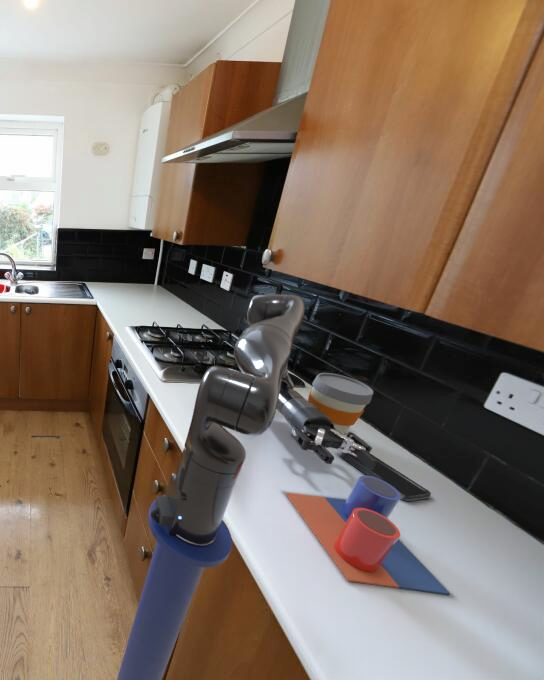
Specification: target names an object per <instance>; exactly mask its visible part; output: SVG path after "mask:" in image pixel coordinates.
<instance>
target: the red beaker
mask: <svg viewBox="0 0 544 680" xmlns="http://www.w3.org/2000/svg"><path fill="white" fill-rule="evenodd" d="M400 537H401V531H400V530H399V528H398V527H397V525H396V524H395V523H394V522H393V521H392V520H390V519H389V518H388V519H387V518H386V517H384V516H383V515H381V514H379V513H377V512H375V511H372V510H369V509H366V508H355V509H354V510H353V511H352V513H351V515H350V517H349V518H348V520H347V522H346V524H345V525H344V527H343V529H342V531H341V532H340V534H339V536H338V537H337V539H336V541H335V543H334V548H335V550H336V552H337V553H338V554H339V556H340V557H341V558H342V559H343V560H345V561H346V562H347V563H348V564H350V565H351V566H353V567H355V568H357V569H359V570H362V571H365V572H376V571H377V570H378V568H379V567H380V565H381V564H382V562H383V561H384V560H385V558H386V557H387V555H388V554H389V552H390V551H391V549H392V548H393V546H394V545H395V543H396V542H397V540H398V539H399V540H400Z"/></svg>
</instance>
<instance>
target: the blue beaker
mask: <svg viewBox="0 0 544 680" xmlns="http://www.w3.org/2000/svg"><path fill="white" fill-rule="evenodd" d="M345 500H346V502H345V504H344V505H343V507H342V513H343V515H344V516H345V517H346V518H347V519H348V518H349V517H350V515H351V513H352V511H353V510H354V509H355V508H366V509H369V510H372V511H375V512H377V513H379V514H381V515H383V516H384V517H386V518H387V519H389V517H391V514H392V513H393V511H394V510H395V508H396V507H397V505H398V503H399V502H400V500H402V499H401V495H400V493H399V492H398V491H397V490H396V489H395V488H394V487H393V486H391V485H390V484H388V483H386V482H385V481H383V480H380V479H378V478H375V477H372V476H367V475H366V474H364V475H360V476H358V479H357V480H356V482H355V484H354V486H353V487H352V489H351V491H350V493H349V494H348V496H347V498H346V499H345Z"/></svg>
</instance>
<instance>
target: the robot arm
mask: <svg viewBox="0 0 544 680" xmlns="http://www.w3.org/2000/svg"><path fill="white" fill-rule="evenodd" d="M246 315H247V318H246V320H247V325H248V326H247V327H246V328H245V329H244V330H243V332H242V333H241V334H240V336H239V337H238V339H237V341H236V343H235V345H234V347H233V359H234V361H235V364H236V365H237V367H238V369H239V370H236V369H232V368H229V367H226V366H222V365H219V364H218V365H217V364H216V365H215V364H214V365H211V366H210V367H209V368H208V369H207V370H206V371H205V372H204V374H203V375H202V377H201V381H200V383H199V385H198V389H197V393H196V396H195V403H194V406H193V410H192V411H193V412H192V416H191V421H190V425H189V428H188V432H187V434H186V438H185V442H184V446H183V450H182V453H181V456H180V460H179V463H178V466H177V470H176V473H171V475H170V477H169V481H168V485H167V489H166V492H165V494H164V495H165V496H163V495H156V498H155V500H156V501H155V500H154V501H155V507H156V508H155V509H153V510H152V511H151V517H152V519H153V520H154V521H155V522H156V523H160V525H164V526H167V530H168V533H169V535H170V536H175V537H177V538H178V539H179V540H181V541H183V542H185V543H187V544H189V545H192V546H196V547H206V546H209V545H211V544H212V543H213V542H214V541H215V539H216V536H217V532H218V529H219V526H220V524H221V521H222V520H223V518H224V515H225V513H226V511H227V508H228V505H229V503H230V500H231V497H232V495H233V492H234V490H235V487H236V484H237V481H238V479H239V476H240V474H241V471H242V469H243V466H244V464H245V461H246V456H247V455H246V448H245V447H244V445H243V444H242V442H241V441H240V440H239V439H238V438H237V437H236V436H235V435H233V434H232V433H231V432H230V431H229V430H232V431H234V432H237V433H239V434H243V435H246V436H250V437H257V436H260V435H263V434H264V433H265V432H266V431H267V430H268V429H269V428H270V426H271V424H272V423H273V420H274V418H275V415H276V412H277V411H278V412H279V413H280V414H281V416H283V417H284V420H285V421H286V422H287V423H288V425H289V426H290V427H292V429H291V431H290V435H289V436H290V437H291V438H292V439H293V440H294V441H295V443H296V444H297V445H298V446H299V448H300V449H301V450H303V451H308V450H310V452H311V453H314V454H316V455H317V456H318V458H319V459H320V460H322V461H323V462H324V463H325V464H326V465H332V464H333V462H334V460H335V457H334V454H332V453H331V452H330V451H329V449H330V448H331V449H334V450H337V451H339V452H341V453H342V452H343V453H350V454H352V455H354V456H356V457H357V459H358V460H359V461H361V462H362V463H363V464H364V465H365V466H366V467H367V468H368V469H374V467H375V465H376V463H377V461H376V460H375V459H374V458H373V457H372V456H370V455H369V453H370V454H371V451H372V450H373V447H372V446H371V445H370V444H369V443H367V442H366V441H364V440H363V439H362V438H361V437H359V436H358V435H357V434H356V433H354V432H352V431H348V432H347V434H346V433H345V434H342V433H340V432H339V431H337V430H335V428H334V425H333V422H332V421H331V420H330V419H329V418H328V417H327V416H326V415H325V414H324V413H322V412H321V411H320V410H319V409H318V408H317V407H316V406H314V405H313V404H312V403H310V402H309V401H308V399H306V398H305V397H304V396H303V395H301V393H299V392H298V391H296V390H295V384H294V381H293V380H292V378H291V376H290V373H289V371H288V367H289V366H288V365H289V360H290V358H291V354H292V351H293V346H294V341H295V337H296V336H297V334H298V332H299V330H300V328H301V326H302V324H303V321H304V317H305V303H304V300H303V299H302V298H301V297H300V296H298V295H293V294H277V293H259V294H254V295H253V296H252V297H251V299H250V301H249V303H248V307H247V314H246ZM227 429H229V430H227ZM344 442H345V446H344V447H343V443H344ZM328 448H329V449H328ZM353 450H356V452H355V451H353ZM156 515H158V516H156Z"/></svg>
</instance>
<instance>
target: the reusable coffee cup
mask: <svg viewBox="0 0 544 680" xmlns="http://www.w3.org/2000/svg"><path fill="white" fill-rule="evenodd" d="M311 385H312V389H311V391H309V392H308V393H309V394H308V399H307V401H309V402H310V403H312V404H313V405H314V406H316V407H317V408H318V409H319V410H320V411H321V412H322V413H324V414H325V415H326V416H327V417H328V418H329V419H330V420H331V421H332V422H333V425H334V428H335V430H337V431H339V432H340V433H342V434H346V432H347V431H348V430H349V428H351V426H353V425H355V424H356V423H357V421H358V420H359V419H360V417H361V416H362V415H363V413H364V412H365V408H366V406H367V405H370V403H371V401H372V398H373V395H374V390H373V389H372V388H371V387H370V386H368V385H367V384H366V383H364V382H362V381H360V380H357V379H354V378H352V377H350V376H349V377H348V376H345V375H342V374H338V373H331V372H321V373H318V374H317V375H316V376H315V378H314V379H313V381H312V384H311Z"/></svg>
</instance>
